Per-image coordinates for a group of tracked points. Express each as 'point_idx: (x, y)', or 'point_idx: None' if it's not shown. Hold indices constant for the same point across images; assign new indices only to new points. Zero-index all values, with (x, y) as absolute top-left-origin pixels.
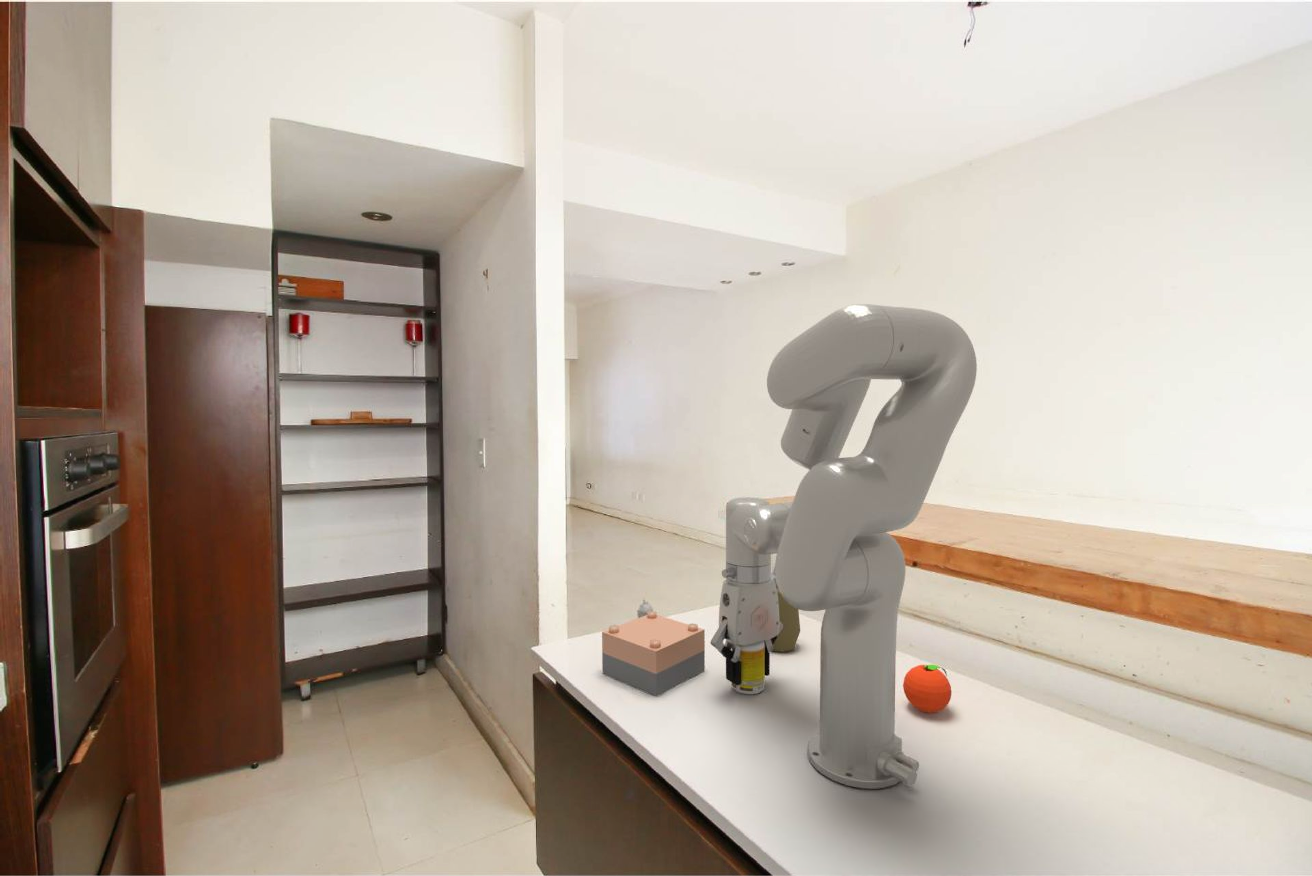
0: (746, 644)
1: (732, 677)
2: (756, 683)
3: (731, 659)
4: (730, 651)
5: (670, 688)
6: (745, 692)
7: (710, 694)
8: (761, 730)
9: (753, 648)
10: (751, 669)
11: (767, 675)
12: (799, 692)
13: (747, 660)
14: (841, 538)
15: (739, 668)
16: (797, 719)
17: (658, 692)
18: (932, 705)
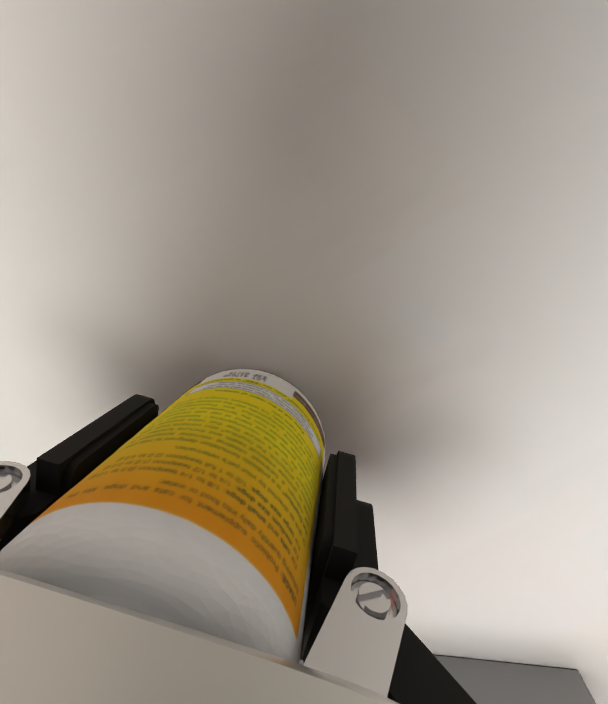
0: (333, 683)
1: (368, 505)
2: (270, 392)
3: (397, 613)
4: (411, 699)
5: (483, 662)
6: (316, 414)
7: (412, 524)
8: (583, 152)
9: (208, 568)
10: (279, 452)
11: (150, 398)
12: (109, 233)
13: (285, 517)
14: None
15: (346, 513)
16: (352, 71)
17: (568, 682)
18: None
